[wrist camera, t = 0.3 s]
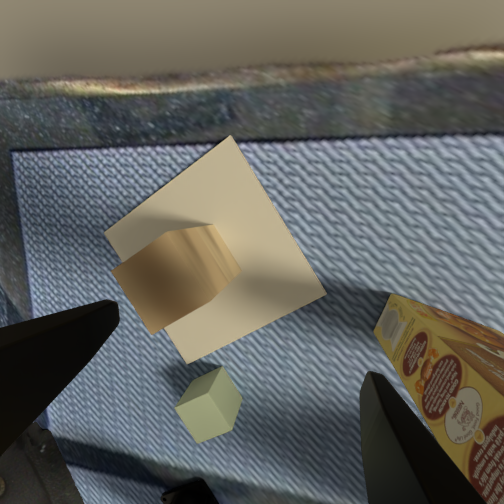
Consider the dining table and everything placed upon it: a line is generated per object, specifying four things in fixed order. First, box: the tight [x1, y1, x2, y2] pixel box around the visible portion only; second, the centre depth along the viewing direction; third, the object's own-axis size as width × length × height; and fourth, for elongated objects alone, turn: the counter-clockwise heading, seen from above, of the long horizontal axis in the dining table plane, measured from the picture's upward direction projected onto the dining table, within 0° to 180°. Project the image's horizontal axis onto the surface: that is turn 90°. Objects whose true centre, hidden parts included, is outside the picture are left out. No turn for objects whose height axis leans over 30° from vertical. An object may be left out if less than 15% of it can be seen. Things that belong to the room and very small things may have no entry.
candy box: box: [373, 293, 504, 504], centre depth 14 cm, size 9×4×15 cm, turn 73°
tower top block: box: [111, 227, 229, 335], centre depth 18 cm, size 5×5×4 cm
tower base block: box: [195, 225, 242, 283], centre depth 22 cm, size 5×5×4 cm
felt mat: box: [104, 135, 327, 364], centre depth 24 cm, size 16×16×1 cm
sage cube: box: [175, 366, 243, 444], centre depth 25 cm, size 4×4×4 cm
